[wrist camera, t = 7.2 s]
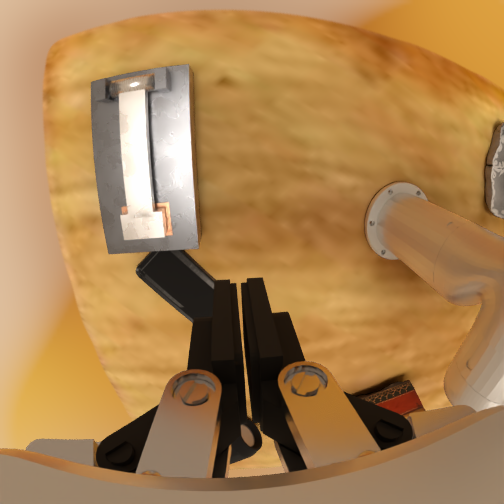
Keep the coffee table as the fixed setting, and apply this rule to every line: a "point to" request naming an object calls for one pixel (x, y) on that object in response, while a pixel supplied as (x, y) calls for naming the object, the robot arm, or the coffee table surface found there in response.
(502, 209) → the brain slice
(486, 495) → the robot arm
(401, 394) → the decorative box
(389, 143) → the coffee table surface
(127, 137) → the latch bar
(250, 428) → the portable speaker
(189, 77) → the base block
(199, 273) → the phone
